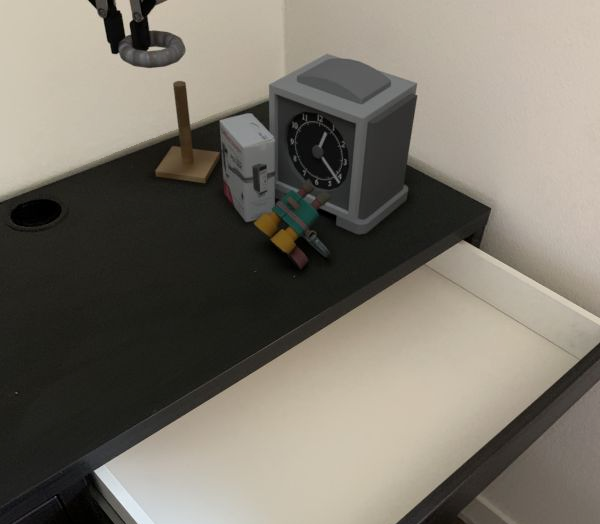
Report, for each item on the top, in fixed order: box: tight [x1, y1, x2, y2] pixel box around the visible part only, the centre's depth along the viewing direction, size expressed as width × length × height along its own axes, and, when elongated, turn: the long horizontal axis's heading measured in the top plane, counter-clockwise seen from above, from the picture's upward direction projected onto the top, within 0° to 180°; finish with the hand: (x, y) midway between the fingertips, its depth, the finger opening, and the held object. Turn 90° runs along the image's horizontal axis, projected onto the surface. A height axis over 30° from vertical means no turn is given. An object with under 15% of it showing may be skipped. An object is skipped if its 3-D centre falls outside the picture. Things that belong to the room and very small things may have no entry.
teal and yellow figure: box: [253, 179, 331, 270], centre depth 87 cm, size 9×9×10 cm
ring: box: [118, 29, 187, 69], centre depth 81 cm, size 8×8×2 cm
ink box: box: [219, 112, 276, 223], centre depth 94 cm, size 9×5×12 cm, turn 27°
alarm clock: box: [268, 53, 418, 235], centre depth 94 cm, size 18×13×18 cm
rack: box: [154, 80, 221, 184], centre depth 100 cm, size 8×8×13 cm
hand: (130, 50), depth 82 cm, fingers closed on ring, 2 cm apart
